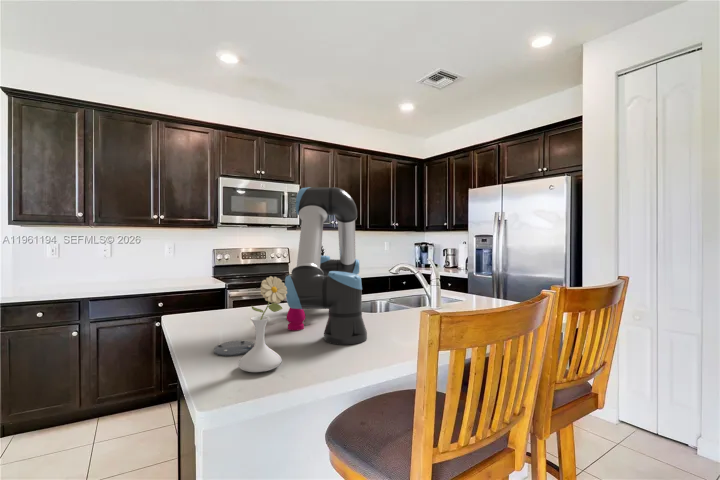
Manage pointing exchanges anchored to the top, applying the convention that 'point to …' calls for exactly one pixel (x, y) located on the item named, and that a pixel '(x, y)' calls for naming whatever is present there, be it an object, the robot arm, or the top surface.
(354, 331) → the robot arm
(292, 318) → the pepper mill
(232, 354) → the flange plate
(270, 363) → the flower in vase
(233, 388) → the top surface
